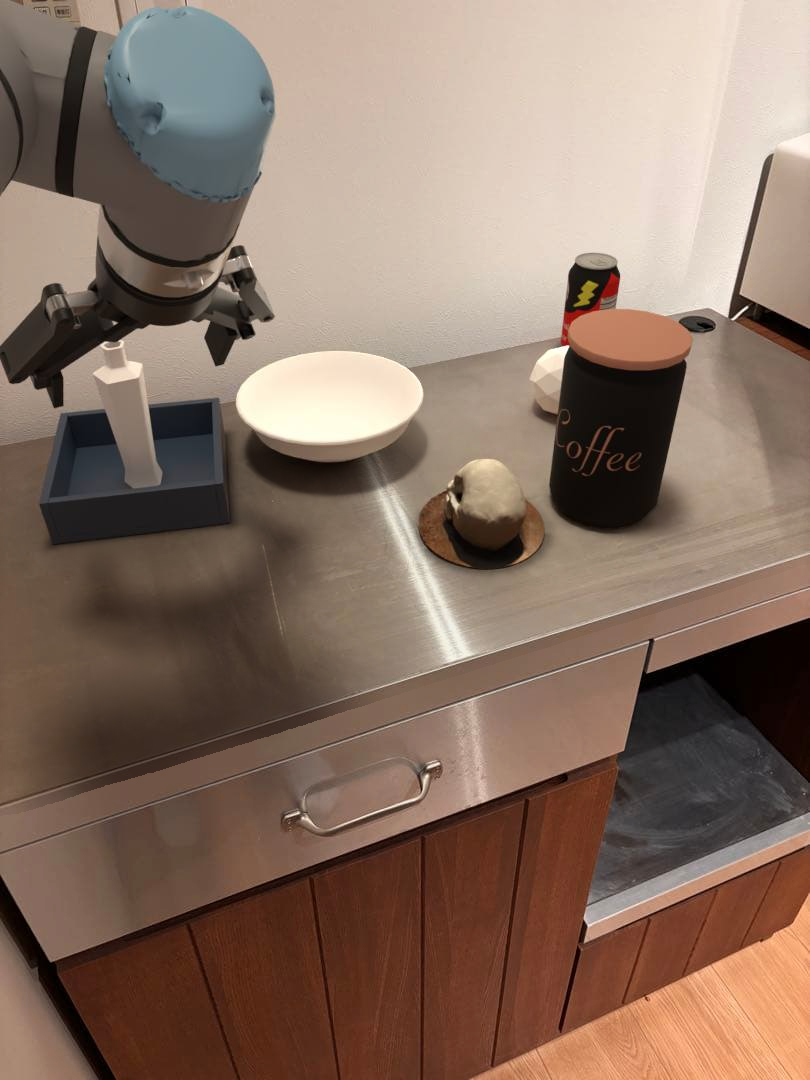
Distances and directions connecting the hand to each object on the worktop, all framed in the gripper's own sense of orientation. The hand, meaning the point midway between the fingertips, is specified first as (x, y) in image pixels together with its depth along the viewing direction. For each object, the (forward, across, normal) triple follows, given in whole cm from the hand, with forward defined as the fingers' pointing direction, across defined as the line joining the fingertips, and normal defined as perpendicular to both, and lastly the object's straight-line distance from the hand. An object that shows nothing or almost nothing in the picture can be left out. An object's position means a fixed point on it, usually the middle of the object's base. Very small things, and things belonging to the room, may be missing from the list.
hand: (136, 370), depth 71 cm
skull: (+2, +26, -23) cm, 34 cm away
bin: (+19, 0, -6) cm, 20 cm away
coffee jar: (0, +38, -25) cm, 46 cm away
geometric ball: (+12, +47, -13) cm, 50 cm away
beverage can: (+19, +59, -6) cm, 62 cm away
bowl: (+17, +21, -8) cm, 28 cm away
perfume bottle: (+19, +1, -5) cm, 19 cm away
